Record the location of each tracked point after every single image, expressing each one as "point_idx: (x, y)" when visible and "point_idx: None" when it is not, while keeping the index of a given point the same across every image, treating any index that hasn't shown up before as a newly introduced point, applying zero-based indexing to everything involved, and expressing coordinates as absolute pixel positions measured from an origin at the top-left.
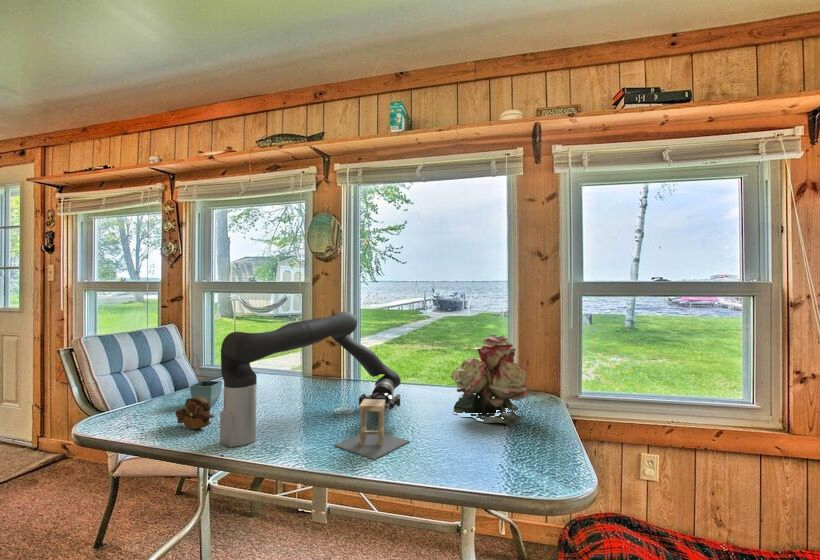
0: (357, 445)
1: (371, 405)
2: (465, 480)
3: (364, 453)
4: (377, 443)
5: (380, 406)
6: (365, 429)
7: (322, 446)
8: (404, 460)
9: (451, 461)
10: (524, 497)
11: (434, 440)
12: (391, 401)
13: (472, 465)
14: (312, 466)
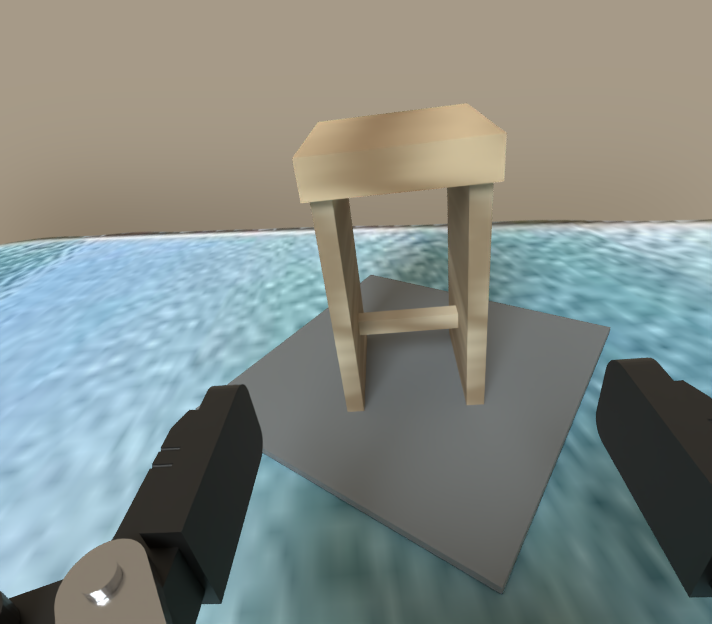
0: None
1: (389, 114)
2: (137, 254)
3: (419, 291)
4: (380, 363)
5: (330, 122)
6: (461, 327)
7: (672, 325)
8: (266, 291)
9: (109, 306)
10: (64, 238)
11: (38, 453)
12: (193, 433)
13: (61, 298)
14: (565, 235)
